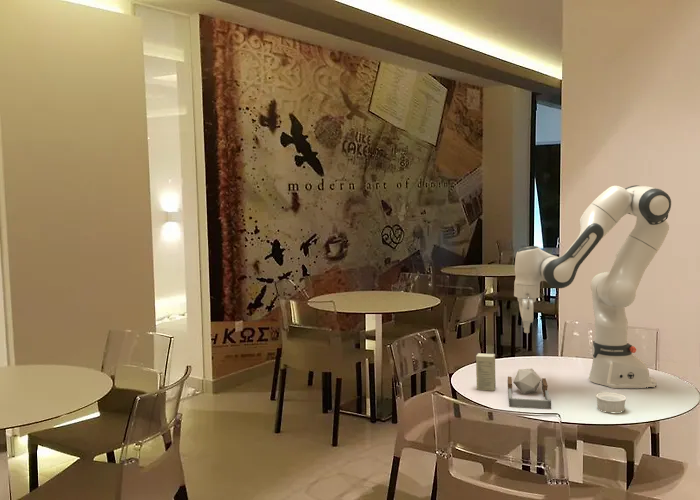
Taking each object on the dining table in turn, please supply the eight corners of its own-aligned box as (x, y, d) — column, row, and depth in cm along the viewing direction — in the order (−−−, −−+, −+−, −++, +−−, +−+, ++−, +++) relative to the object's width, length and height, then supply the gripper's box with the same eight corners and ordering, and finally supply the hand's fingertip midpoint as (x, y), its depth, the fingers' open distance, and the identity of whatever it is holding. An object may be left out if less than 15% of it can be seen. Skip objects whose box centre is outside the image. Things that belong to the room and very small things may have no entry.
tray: (547, 397, 224) (548, 390, 224) (551, 408, 213) (551, 401, 213) (508, 395, 227) (508, 388, 227) (509, 406, 216) (509, 398, 216)
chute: (545, 389, 233) (545, 378, 233) (547, 397, 225) (547, 385, 224) (507, 387, 236) (507, 376, 235) (508, 395, 227) (508, 383, 227)
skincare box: (495, 387, 236) (496, 353, 235) (494, 391, 232) (494, 356, 230) (477, 386, 238) (477, 352, 237) (475, 389, 234) (475, 355, 233)
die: (538, 398, 225) (548, 373, 228) (516, 386, 225) (526, 361, 228) (527, 400, 233) (537, 375, 236) (506, 388, 233) (516, 363, 236)
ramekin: (594, 412, 210) (595, 398, 210) (596, 403, 218) (597, 390, 218) (625, 415, 206) (625, 402, 206) (626, 407, 215) (626, 393, 214)
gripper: (538, 296, 227) (537, 336, 228) (534, 287, 247) (533, 324, 248) (519, 296, 228) (518, 336, 229) (516, 287, 248) (515, 323, 249)
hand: (525, 330), depth 239 cm, fingers open, 7 cm apart
